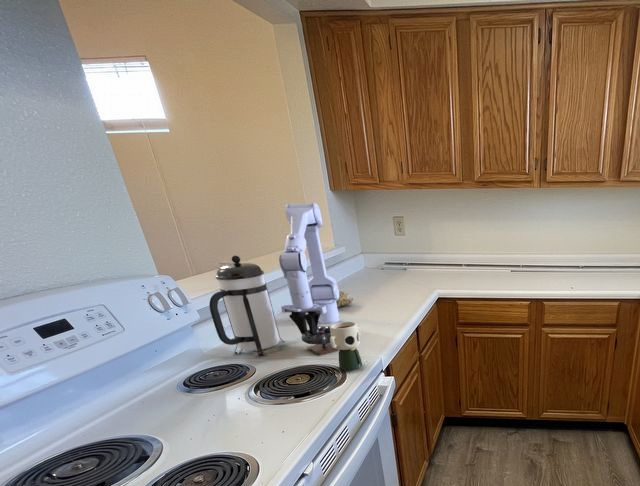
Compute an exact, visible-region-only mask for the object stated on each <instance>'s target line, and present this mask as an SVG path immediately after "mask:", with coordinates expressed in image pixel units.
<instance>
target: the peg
mask: <svg viewBox="0 0 640 486" xmlns="http://www.w3.org/2000/svg"><path fill="white" fill-rule="evenodd" d="M319 335H325V332H324V331H320V332H319ZM306 348H307V351H309V352H311V353H314V354H316V355H318V356H323V355H327V354H329V353H333V352H336V351H339V350H338V349H335V348H332V346H331V342H330V343H327V344H318V345H316V344H312V345H310V346H307V347H306Z"/></svg>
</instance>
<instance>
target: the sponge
mask: <svg viewBox="0 0 640 486" xmlns="http://www.w3.org/2000/svg"><path fill="white" fill-rule="evenodd" d="M353 300H354V297H353V296H352V295H351V294H350V293H348V292H345V291H340V290H339V299H338V300H336V303H337V308H340V307H343V306H348V305H350V304H352V303H353ZM312 303H313V305H314V302H312Z"/></svg>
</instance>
